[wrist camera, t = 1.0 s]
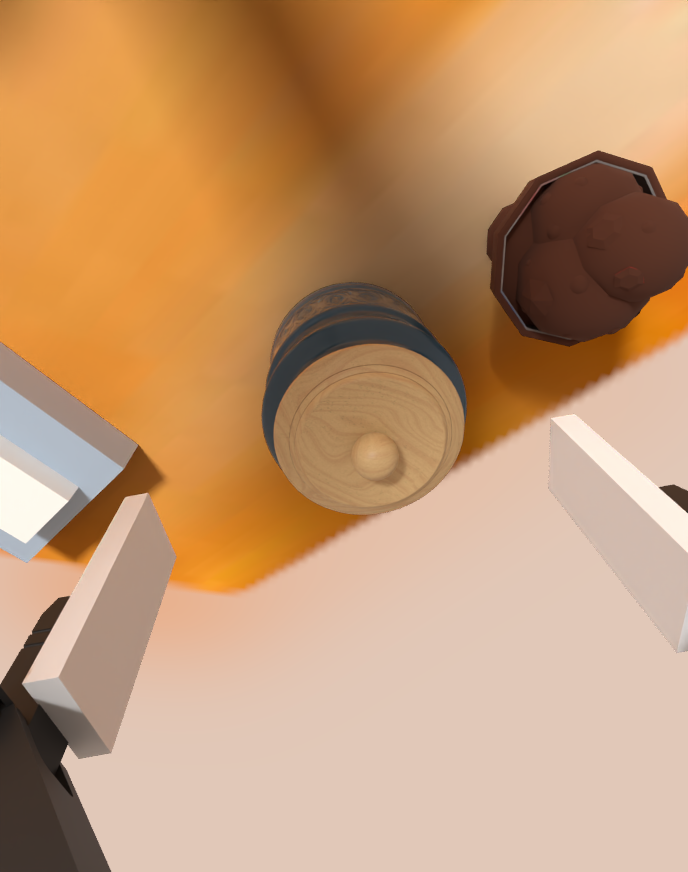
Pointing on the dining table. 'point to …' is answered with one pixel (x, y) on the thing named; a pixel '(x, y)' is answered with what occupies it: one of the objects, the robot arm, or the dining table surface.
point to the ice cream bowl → (586, 249)
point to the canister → (361, 401)
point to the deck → (56, 442)
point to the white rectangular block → (28, 492)
